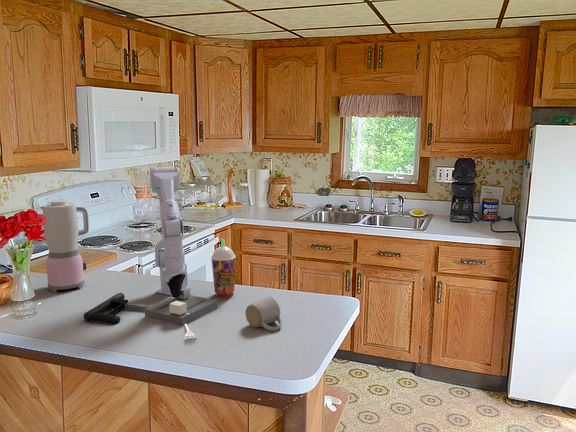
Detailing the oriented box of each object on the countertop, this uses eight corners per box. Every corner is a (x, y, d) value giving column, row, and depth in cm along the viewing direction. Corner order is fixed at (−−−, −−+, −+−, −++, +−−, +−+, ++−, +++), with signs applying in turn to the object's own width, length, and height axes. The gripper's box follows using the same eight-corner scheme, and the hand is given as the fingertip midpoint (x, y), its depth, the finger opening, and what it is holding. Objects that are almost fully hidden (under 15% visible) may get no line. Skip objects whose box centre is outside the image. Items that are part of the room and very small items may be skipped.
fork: (187, 318, 161) (187, 312, 161) (198, 343, 143) (197, 336, 142) (177, 320, 160) (176, 314, 160) (186, 344, 142) (185, 338, 141)
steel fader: (180, 294, 172) (180, 286, 172) (190, 296, 170) (189, 288, 170) (174, 297, 170) (174, 289, 169) (183, 299, 168) (183, 290, 167)
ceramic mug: (243, 324, 154) (243, 300, 153) (263, 317, 160) (263, 293, 158) (268, 335, 147) (268, 310, 145) (288, 327, 153) (288, 302, 151)
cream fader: (176, 309, 159) (176, 300, 158) (186, 311, 157) (186, 302, 156) (169, 312, 156) (169, 303, 156) (180, 314, 154) (179, 306, 154)
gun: (157, 297, 172) (114, 291, 176) (126, 319, 153) (78, 312, 157) (157, 306, 173) (114, 300, 176) (126, 330, 154) (78, 322, 157)
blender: (51, 295, 181) (42, 205, 175) (44, 286, 191) (36, 200, 185) (97, 286, 190) (90, 200, 184) (89, 278, 200) (82, 196, 194)
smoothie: (221, 300, 175) (219, 242, 171) (207, 294, 181) (205, 238, 177) (241, 294, 180) (240, 238, 176) (227, 289, 186) (226, 234, 182)
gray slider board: (181, 300, 175) (181, 292, 175) (217, 307, 168) (217, 300, 167) (145, 316, 161) (144, 309, 160) (182, 326, 153) (181, 317, 153)
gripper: (171, 250, 172) (173, 288, 175) (151, 261, 158) (154, 303, 161) (191, 250, 171) (193, 290, 173) (173, 262, 157) (175, 305, 160)
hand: (175, 296), depth 167 cm, fingers closed
